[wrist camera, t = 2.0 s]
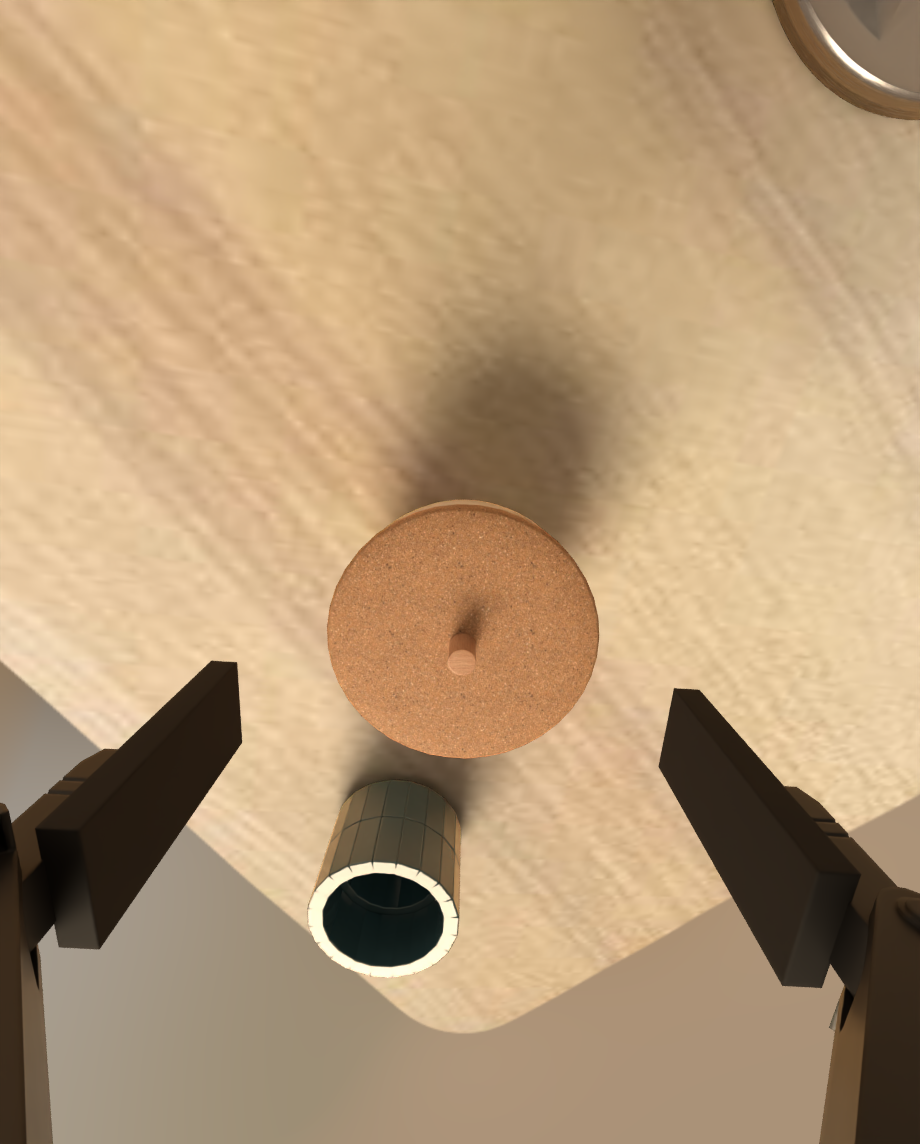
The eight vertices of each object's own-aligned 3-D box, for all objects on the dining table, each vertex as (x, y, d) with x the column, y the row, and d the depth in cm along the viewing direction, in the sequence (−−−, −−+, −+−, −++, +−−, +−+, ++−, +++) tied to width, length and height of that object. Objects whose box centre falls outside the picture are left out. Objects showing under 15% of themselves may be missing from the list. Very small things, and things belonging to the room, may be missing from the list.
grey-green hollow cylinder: (464, 776, 31) (463, 866, 25) (456, 876, 33) (454, 982, 27) (338, 769, 31) (305, 856, 25) (338, 869, 33) (309, 973, 27)
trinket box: (563, 670, 29) (605, 784, 20) (373, 676, 29) (331, 790, 20) (566, 478, 26) (618, 509, 17) (354, 486, 26) (295, 522, 17)
